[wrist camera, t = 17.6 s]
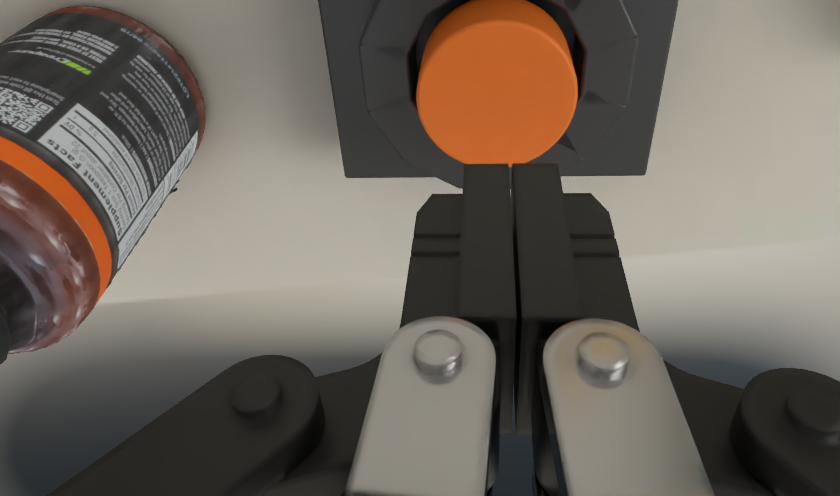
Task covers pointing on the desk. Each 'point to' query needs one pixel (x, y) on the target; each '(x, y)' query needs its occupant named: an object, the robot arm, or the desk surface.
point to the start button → (496, 83)
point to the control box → (400, 65)
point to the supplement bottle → (83, 161)
